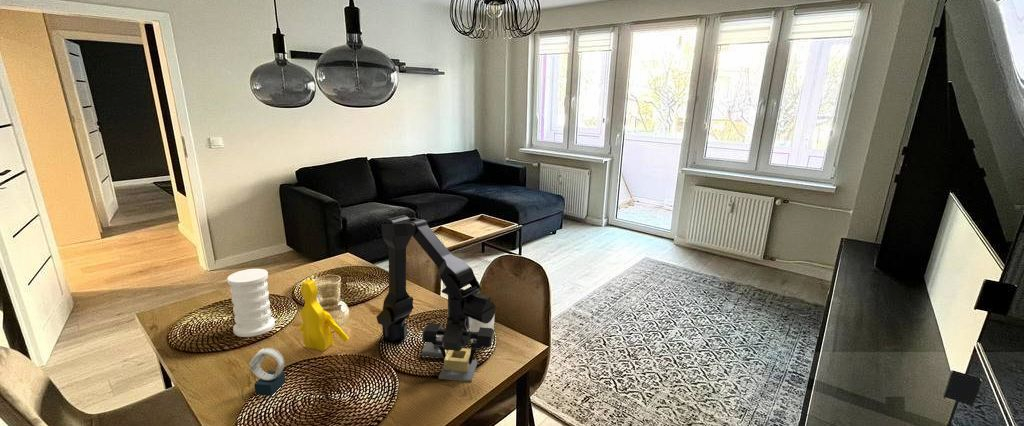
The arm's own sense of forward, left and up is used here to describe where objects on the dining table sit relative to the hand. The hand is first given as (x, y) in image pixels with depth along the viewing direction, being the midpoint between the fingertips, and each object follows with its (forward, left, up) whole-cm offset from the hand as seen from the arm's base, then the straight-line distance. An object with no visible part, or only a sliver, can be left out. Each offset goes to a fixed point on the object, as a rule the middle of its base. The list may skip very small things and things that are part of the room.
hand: (458, 362), depth 120 cm
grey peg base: (-8, +8, -2) cm, 12 cm away
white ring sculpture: (-45, -15, -3) cm, 48 cm away
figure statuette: (-43, +5, -3) cm, 44 cm away
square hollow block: (0, 0, 0) cm, 0 cm away
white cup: (+4, +16, -3) cm, 17 cm away
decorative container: (-69, +12, -3) cm, 70 cm away
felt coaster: (0, 0, -2) cm, 3 cm away
